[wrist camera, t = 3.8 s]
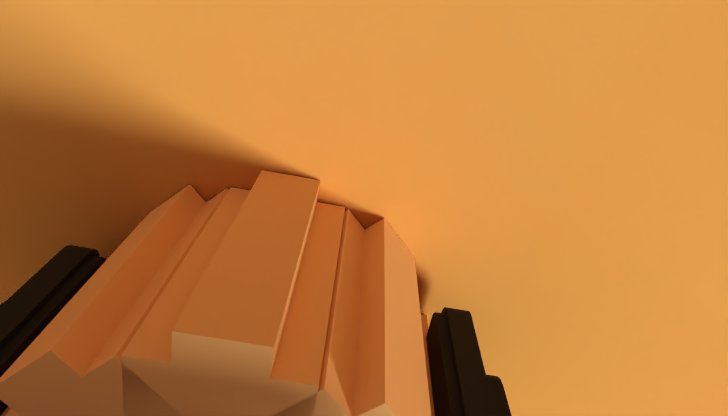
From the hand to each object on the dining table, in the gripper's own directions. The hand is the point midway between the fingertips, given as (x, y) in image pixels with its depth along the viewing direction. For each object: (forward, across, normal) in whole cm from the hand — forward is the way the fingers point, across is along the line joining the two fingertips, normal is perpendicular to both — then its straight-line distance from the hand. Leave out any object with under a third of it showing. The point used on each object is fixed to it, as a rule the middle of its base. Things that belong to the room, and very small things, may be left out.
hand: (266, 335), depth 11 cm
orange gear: (+1, 0, 0) cm, 1 cm away
